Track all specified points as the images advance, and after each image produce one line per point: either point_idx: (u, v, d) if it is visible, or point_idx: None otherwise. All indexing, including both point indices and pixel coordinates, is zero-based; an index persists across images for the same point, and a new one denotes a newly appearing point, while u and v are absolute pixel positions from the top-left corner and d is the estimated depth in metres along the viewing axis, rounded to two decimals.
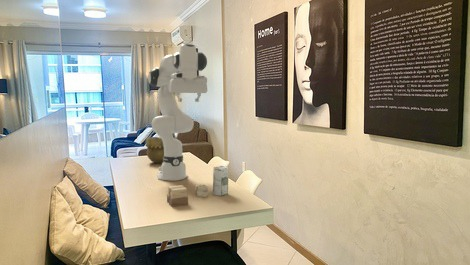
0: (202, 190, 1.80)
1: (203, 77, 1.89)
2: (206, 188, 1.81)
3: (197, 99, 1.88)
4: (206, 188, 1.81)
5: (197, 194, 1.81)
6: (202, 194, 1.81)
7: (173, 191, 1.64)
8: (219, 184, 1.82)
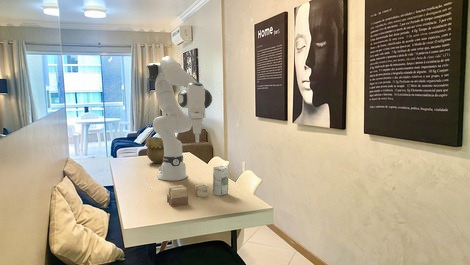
0: (202, 190, 1.80)
1: None
2: (206, 188, 1.81)
3: None
4: (206, 188, 1.81)
5: (197, 194, 1.81)
6: (202, 194, 1.81)
7: (173, 191, 1.65)
8: (219, 184, 1.82)
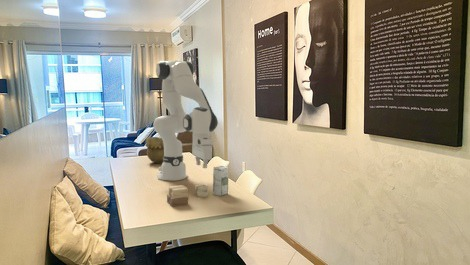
0: (202, 190, 1.80)
1: None
2: (206, 188, 1.81)
3: None
4: (206, 188, 1.81)
5: (197, 194, 1.81)
6: (202, 194, 1.81)
7: (174, 191, 1.64)
8: (219, 184, 1.82)
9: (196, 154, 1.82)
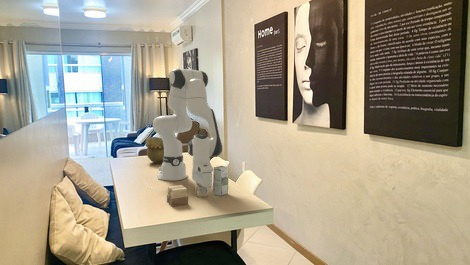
0: None
1: None
2: None
3: None
4: None
5: (197, 194, 1.81)
6: (202, 194, 1.81)
7: (173, 191, 1.64)
8: (219, 184, 1.82)
9: (196, 180, 1.84)
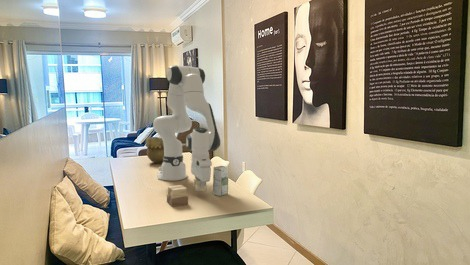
0: None
1: None
2: (205, 182, 1.81)
3: None
4: None
5: (195, 188, 1.81)
6: (201, 188, 1.81)
7: (173, 191, 1.64)
8: (219, 184, 1.82)
9: (195, 174, 1.84)
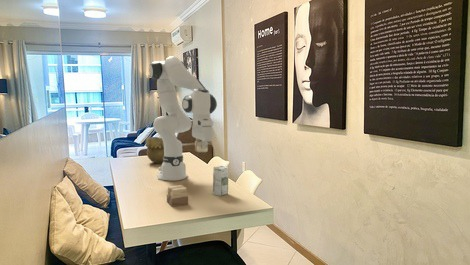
0: None
1: None
2: (206, 143, 1.79)
3: None
4: (206, 143, 1.79)
5: (197, 149, 1.79)
6: (202, 149, 1.78)
7: (173, 191, 1.64)
8: (219, 184, 1.82)
9: (196, 135, 1.81)
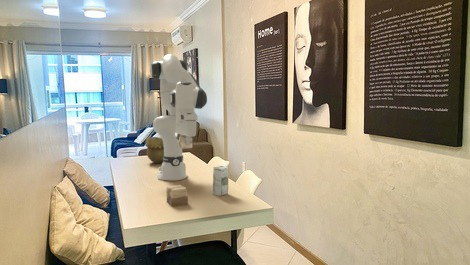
0: None
1: None
2: (191, 139, 1.69)
3: None
4: None
5: (181, 145, 1.69)
6: (187, 145, 1.68)
7: (173, 191, 1.64)
8: (219, 184, 1.82)
9: (180, 131, 1.72)
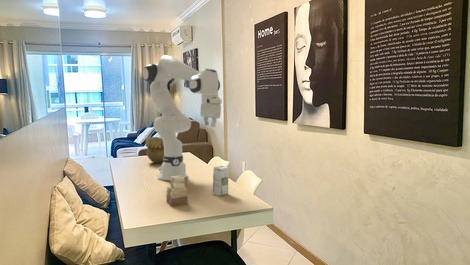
0: (178, 181, 1.66)
1: None
2: (183, 179, 1.67)
3: None
4: (182, 179, 1.67)
5: (173, 186, 1.67)
6: (179, 186, 1.67)
7: (174, 191, 1.65)
8: (219, 184, 1.82)
9: (204, 114, 1.89)
